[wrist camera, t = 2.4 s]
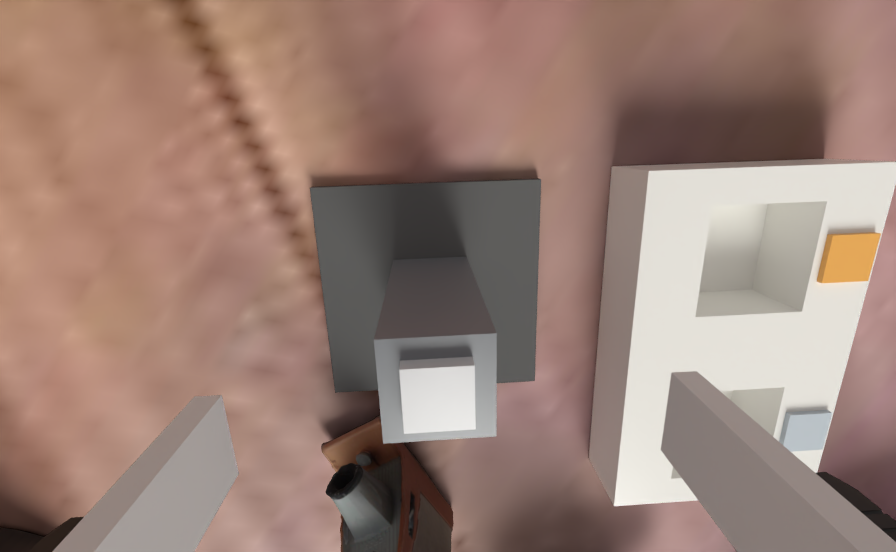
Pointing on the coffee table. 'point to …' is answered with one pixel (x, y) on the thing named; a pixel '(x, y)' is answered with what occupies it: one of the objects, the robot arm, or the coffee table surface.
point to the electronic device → (385, 495)
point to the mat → (427, 236)
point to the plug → (435, 353)
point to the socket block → (729, 302)
